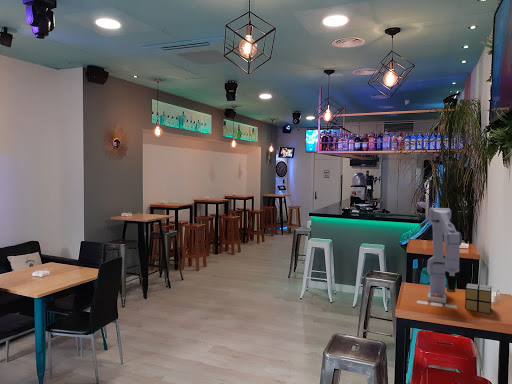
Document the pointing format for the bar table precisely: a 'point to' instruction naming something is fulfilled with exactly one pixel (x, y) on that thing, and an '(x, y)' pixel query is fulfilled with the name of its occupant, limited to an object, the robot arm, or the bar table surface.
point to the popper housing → (436, 298)
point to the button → (437, 295)
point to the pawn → (449, 290)
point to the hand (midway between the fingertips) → (451, 288)
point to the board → (437, 304)
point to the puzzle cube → (478, 298)
